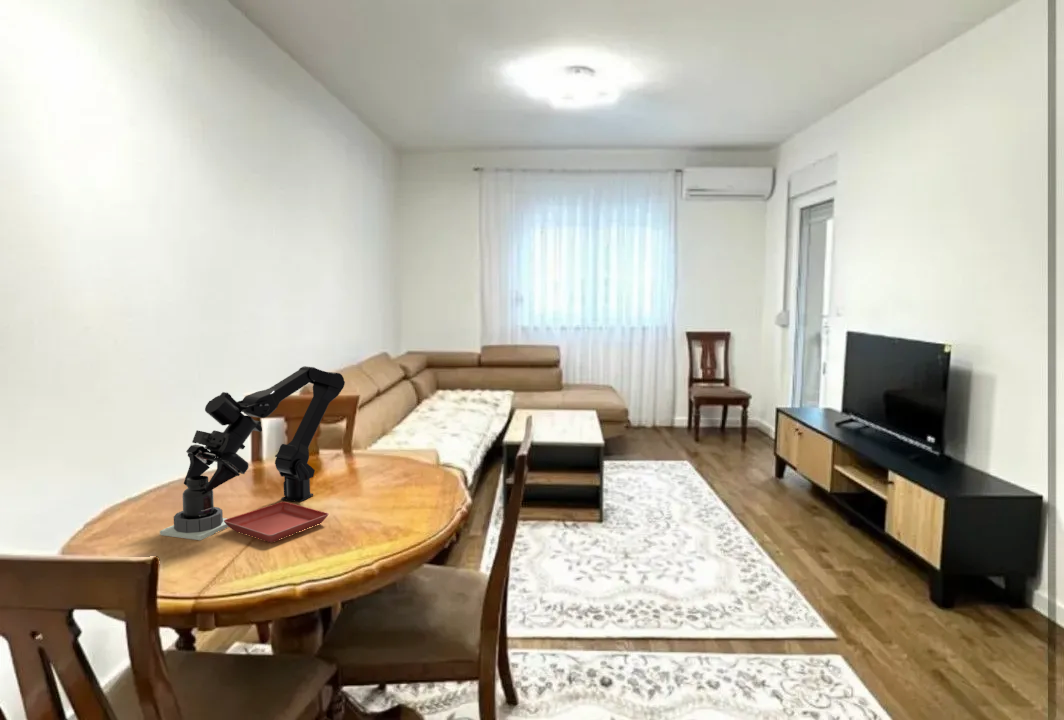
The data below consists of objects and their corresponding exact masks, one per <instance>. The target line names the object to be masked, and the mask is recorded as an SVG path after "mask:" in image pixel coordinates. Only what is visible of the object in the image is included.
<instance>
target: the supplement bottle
mask: <svg viewBox="0 0 1064 720" xmlns="http://www.w3.org/2000/svg"><path fill="white" fill-rule="evenodd" d="M208 483H209V476H207V475H200V476H193V477H189V478H187V484H186V485H185V486H186V489H184V491H183V492H182V511H183V519H188V520H189V519H201V518H205V517H209V516H212V515H214V507H215V505H214V489H213V490H211V491H209V492H207V491H206V490H205V488H206V486H207V484H208Z"/></svg>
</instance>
